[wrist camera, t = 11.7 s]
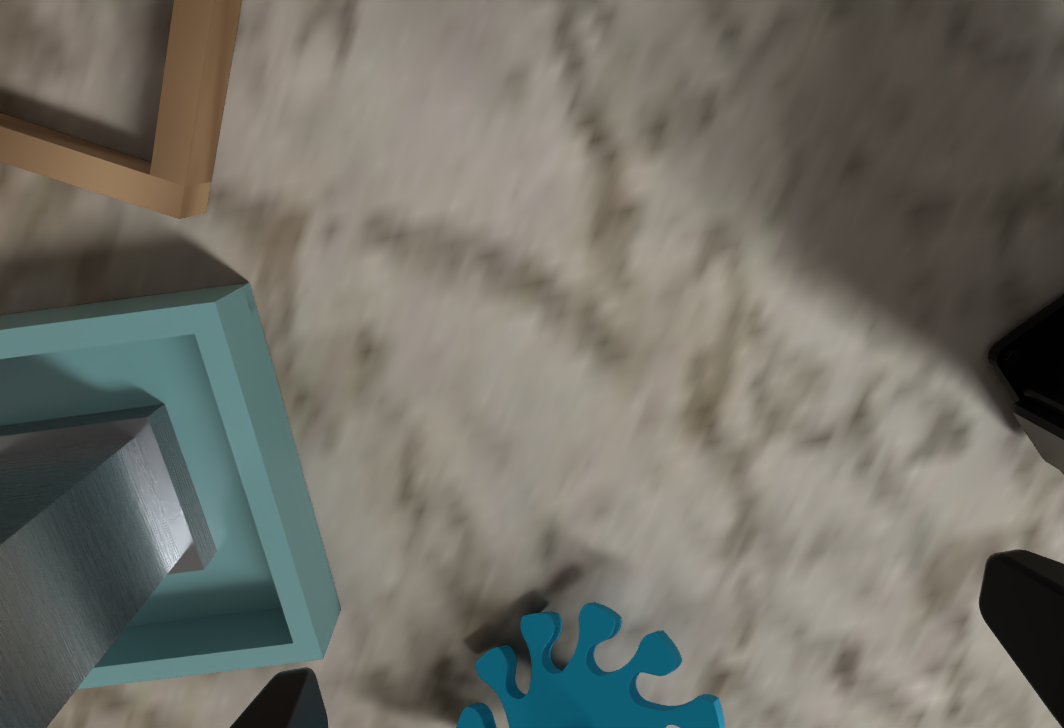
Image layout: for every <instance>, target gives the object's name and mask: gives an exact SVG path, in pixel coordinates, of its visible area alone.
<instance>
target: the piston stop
mask: <svg viewBox="0 0 1064 728" xmlns="http://www.w3.org/2000/svg"><path fill="white" fill-rule="evenodd" d="M216 552H217V549H216V546H215V544H214V541H213V538H212V535H211V532H210V530H209V527H208V524H207V521H206V518H205V515H204V513H203V510H202V507H201V504H200V501H199V499H198V496H197V493H196V490H195V487H194V485H193V482H192V479H191V476H190V473H189V470H188V468H187V465H186V462H185V459H184V456H183V454H182V451H181V448H180V445H179V442H178V440H177V437H176V434H175V431H174V428H173V426H172V423H171V420H170V417H169V414H168V411H167V409H166V406H165V404H159V405H152V406H144V407H137V408H129V409H122V410H114V411H107V412H100V413H92V414H85V415H77V416H70V417H62V418H55V419H47V420H40V421H32V422H25V423H17V424H10V425H2V426H0V728H47V726H48V725H49V724H50V723H51V721H52V720H53V719H54V717H55V716H56V715H57V714H58V712H59V711H60V710H61V709H62V707H63V706H64V705H65V703H66V702H67V701H68V700H69V698H70V697H71V696H72V695H73V693H74V692H75V691H76V689H77V688H78V687H79V686H80V684H81V683H82V682H83V681H84V679H85V678H86V677H87V675H88V674H89V673H90V672H91V670H92V669H93V668H94V667H95V665H96V664H97V663H98V662H99V660H100V659H101V658H102V656H103V655H104V654H105V653H106V651H107V650H108V649H109V648H110V646H111V645H112V644H113V642H114V641H115V640H116V639H117V637H118V636H119V635H120V634H121V632H122V631H123V630H124V628H125V627H126V626H127V625H128V623H129V622H130V621H131V620H132V618H133V617H134V616H135V614H136V613H137V612H138V611H139V609H140V608H141V607H142V606H143V604H144V603H145V602H146V600H147V599H148V598H149V597H150V595H151V594H152V593H153V592H154V590H155V589H156V588H157V587H158V585H159V584H160V583H161V581H162V580H163V579H164V578H165V576H166V575H168V574H176V573H184V572H192V571H199V570H204V569H205V568H206V567H207V565H208V564H209V562H210V561H211V559H212V558H213V557H214V555H215V554H216Z"/></svg>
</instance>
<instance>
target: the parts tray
mask: <svg viewBox="0 0 1064 728" xmlns="http://www.w3.org/2000/svg"><path fill="white" fill-rule="evenodd" d="M159 404H165V406H166V409H167V411H168V414H169V417H170V420H171V423H172V426H173V428H174V431H175V434H176V437H177V440H178V442H179V445H180V448H181V451H182V454H183V456H184V459H185V462H186V465H187V468H188V470H189V473H190V476H191V479H192V482H193V485H194V487H195V490H196V493H197V496H198V499H199V501H200V504H201V507H202V510H203V513H204V515H205V518H206V521H207V524H208V527H209V530H210V532H211V535H212V538H213V541H214V544H215V546H216V549H217V552H216V554H215V555H214V557H213V558H212V559H211V561H210V562H209V564H208V565H207V567H206V568H205V569H204V570H199V571H192V572H184V573H176V574H168V575H166V576H165V578H164V579H163V580H162V581H161V583H160V584H159V585H158V587H157V588H156V589H155V590H154V592H153V593H152V594H151V595H150V597H149V598H148V599H147V600H146V602H145V603H144V604H143V606H142V607H141V608H140V609H139V611H138V612H137V613H136V614H135V616H134V617H133V618H132V620H131V621H130V622H129V623H128V625H127V626H126V627H125V628H124V630H123V631H122V632H121V634H120V635H119V636H118V637H117V639H116V640H115V641H114V642H113V644H112V645H111V646H110V648H109V649H108V650H107V651H106V653H105V654H104V655H103V656H102V658H101V659H100V660H99V662H98V663H97V664H96V665H95V667H94V668H93V669H92V670H91V672H90V673H89V674H88V675H87V677H86V678H85V679H84V681H83V682H82V683H81V684H80V686H79V687H78V688H77V689H84V688H92V687H100V686H108V685H116V684H125V683H133V682H141V681H149V680H157V679H166V678H174V677H182V676H190V675H198V674H206V673H215V672H223V671H231V670H239V669H247V668H255V667H264V666H272V665H280V664H288V663H296V662H304V661H313V660H321V659H323V658H324V655H325V652H326V650H327V647H328V644H329V641H330V639H331V636H332V633H333V630H334V627H335V625H336V622H337V619H338V616H339V614H340V611H341V607H340V604H339V600H338V596H337V593H336V589H335V586H334V582H333V579H332V575H331V572H330V568H329V564H328V561H327V557H326V554H325V550H324V547H323V543H322V539H321V536H320V532H319V529H318V525H317V522H316V518H315V515H314V511H313V507H312V504H311V500H310V497H309V493H308V490H307V486H306V482H305V479H304V475H303V472H302V468H301V465H300V461H299V458H298V454H297V450H296V447H295V443H294V440H293V436H292V433H291V429H290V425H289V422H288V418H287V415H286V411H285V408H284V404H283V401H282V397H281V393H280V390H279V386H278V383H277V379H276V376H275V372H274V368H273V365H272V361H271V358H270V354H269V351H268V347H267V344H266V340H265V336H264V333H263V329H262V326H261V322H260V319H259V315H258V311H257V308H256V304H255V301H254V297H253V294H252V290H251V287H250V283H243V284H236V285H228V286H220V287H213V288H205V289H197V290H190V291H182V292H174V293H167V294H159V295H151V296H144V297H136V298H129V299H121V300H113V301H106V302H98V303H90V304H83V305H75V306H67V307H60V308H52V309H44V310H37V311H29V312H22V313H14V314H6V315H0V426H2V425H10V424H17V423H25V422H32V421H40V420H47V419H55V418H62V417H70V416H77V415H85V414H92V413H100V412H107V411H114V410H122V409H129V408H137V407H144V406H152V405H159Z"/></svg>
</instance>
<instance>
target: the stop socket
mask: <svg viewBox="0 0 1064 728" xmlns="http://www.w3.org/2000/svg"><path fill="white" fill-rule="evenodd" d="M241 4H242V0H174V4H173V11H172V18H171V25H170V33H169V40H168V47H167V54H166V61H165V68H164V76H163V83H162V90H161V97H160V104H159V111H158V119H157V126H156V133H155V140H154V147H153V155H152V162H148V161H145V160H142V159H139V158H136V157H133V156H130V155H127V154H124V153H121V152H118V151H115V150H112V149H109V148H106V147H103V146H100V145H97V144H94V143H91V142H88V141H84V140H81V139H78V138H75V137H72V136H69V135H66V134H63V133H60V132H57V131H54V130H51V129H48V128H45V127H42V126H39V125H36V124H33V123H30V122H27V121H24V120H21V119H18V118H14V117H11V116H8V115H5V114H2V113H0V162H2V163H5V164H9V165H12V166H15V167H18V168H21V169H24V170H27V171H31V172H34V173H37V174H40V175H43V176H46V177H49V178H52V179H56V180H59V181H62V182H65V183H68V184H71V185H74V186H78V187H81V188H84V189H87V190H90V191H93V192H96V193H100V194H103V195H106V196H109V197H112V198H115V199H118V200H121V201H125V202H128V203H131V204H134V205H137V206H140V207H143V208H147V209H150V210H153V211H156V212H159V213H162V214H165V215H169V216H172V217H175V218H178V219H181V218H185V217H189V216H193V215H197V214H201V213H205V212H206V210H207V204H208V198H209V192H210V186H211V181H212V175H213V169H214V163H215V157H216V151H217V145H218V139H219V134H220V128H221V122H222V116H223V110H224V104H225V98H226V92H227V87H228V81H229V75H230V69H231V63H232V57H233V51H234V45H235V40H236V34H237V28H238V22H239V16H240V10H241Z"/></svg>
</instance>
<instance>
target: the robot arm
mask: <svg viewBox="0 0 1064 728" xmlns="http://www.w3.org/2000/svg"><path fill="white" fill-rule="evenodd" d="M1009 351H1011V355H1010V356H1009V357H1008V359H1006V360H1005V359H1004V358H1005V355H1006V354H1007V353H1008V352H1009ZM988 359H989V362H990V364H991V366H992V367H993V369H994V370H995V372H996V373H997V375H998V376H999V378H1000V379H1001V381H1002V382H1003V384H1004V385H1005V387H1006V388H1007V390H1008V391H1009V393H1010V395H1011V396H1012V398H1013V399H1014V401H1015V402H1016V403H1014V404H1013V414H1014V416H1015V417H1016V419H1017V420H1018V422H1019V423H1020V425H1021V426H1022V428H1023V429H1024V431H1025V432H1026V434H1027V435H1028V437H1029V438H1030V440H1031V441H1032V443H1033V444H1034V446H1035V447H1036V449H1037V450H1038V452H1039V453H1040V455H1041V456H1042V458H1043V459H1044V460H1045V461H1046V462H1048V463H1049V464H1051V465H1053V466H1054V467H1056V468H1058V469H1059V470H1060V471H1061V472H1062V473H1063V474H1064V295H1063V296H1061V297H1060V298H1059V299H1057V300H1056V301H1054V302H1053V303H1052V304H1050V305H1049V306H1047V307H1046V308H1044V309H1043V310H1042V311H1040V312H1039V313H1037V314H1036V315H1035V316H1033V317H1032V318H1030V319H1029V320H1027V321H1026V322H1025V323H1023V324H1022V325H1020V326H1019V327H1017V328H1016V329H1015V330H1013V331H1012V332H1010V333H1009V334H1008V335H1006V336H1005V337H1003V338H1002V339H1000V340H999V341H998V342H996V343H995V344H994V345H993V346H992V347H991V349H990V351H989V354H988ZM979 608H980V612H981V614H982V617H983V619H984V620H985V622H986V624H987V625H988V626H989V628H990V629H991V631H992V632H993V633H994V635H995V636H996V637H997V639H998V640H999V642H1000V643H1001V644H1002V646H1003V647H1004V648H1005V650H1006V651H1007V653H1008V654H1009V655H1010V657H1011V658H1012V660H1013V661H1014V662H1015V664H1016V665H1017V666H1018V668H1019V669H1020V671H1021V672H1022V673H1023V675H1024V676H1025V677H1026V679H1027V680H1028V682H1029V683H1030V684H1031V686H1032V687H1033V689H1034V690H1035V691H1036V693H1037V694H1038V695H1039V697H1040V698H1041V700H1042V701H1043V702H1044V704H1045V705H1046V706H1047V708H1048V709H1049V711H1050V712H1051V713H1052V715H1053V716H1054V717H1055V719H1056V720H1057V721H1058V723H1059V724H1060V725H1061V727H1062V728H1064V564H1063V563H1060V562H1057V561H1054V560H1052V559H1049V558H1046V557H1043V556H1040V555H1038V554H1035V553H1032V552H1029V551H1026V550H1012V551H1005V552H999V553H994V554H992V555H991V556H990V557H989V558H988V559H987V561H986V565H985V570H984V575H983V581H982V586H981V592H980V597H979ZM230 728H328V719H327V714H326V710H325V706H324V703H323V699H322V696H321V692H320V689H319V685H318V682H317V678H316V675H315V673H314V672H313V670H312V669H310V668H300V669H294V670H288V671H282V672H280V673H278V674H276V675H275V676H274V677H273V678H272V679H271V680H270V681H269V683H268V684H267V685H266V686H265V687H264V688H263V690H262V691H261V692H260V693H259V694H258V695H257V697H256V698H255V699H254V700H253V701H252V702H251V704H250V705H249V706H248V707H247V708H246V709H245V711H244V712H243V713H242V714H241V715H240V716H239V717H238V719H237V720H236V721H235V722H234V723H233V724H232V726H231V727H230Z"/></svg>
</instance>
